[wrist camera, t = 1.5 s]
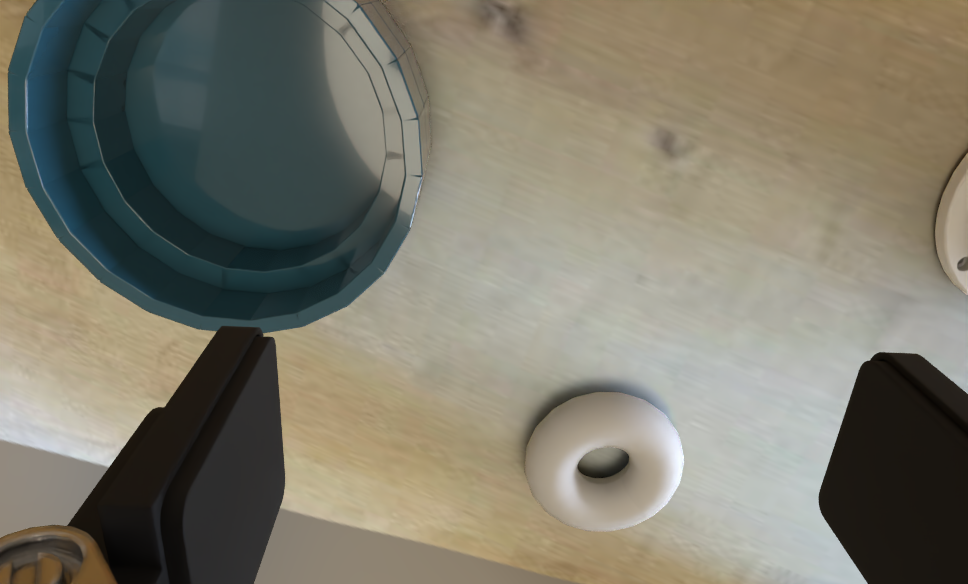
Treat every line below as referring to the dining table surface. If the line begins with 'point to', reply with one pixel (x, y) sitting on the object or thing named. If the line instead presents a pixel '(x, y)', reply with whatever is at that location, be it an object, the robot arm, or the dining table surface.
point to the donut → (596, 427)
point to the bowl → (222, 150)
